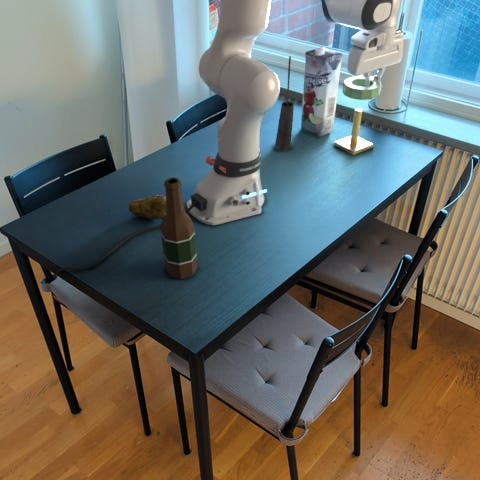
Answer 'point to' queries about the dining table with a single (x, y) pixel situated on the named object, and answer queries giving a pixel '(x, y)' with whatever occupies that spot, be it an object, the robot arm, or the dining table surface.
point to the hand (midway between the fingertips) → (372, 83)
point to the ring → (361, 88)
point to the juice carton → (320, 91)
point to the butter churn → (285, 122)
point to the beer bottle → (178, 234)
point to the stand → (354, 137)
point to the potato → (149, 207)
